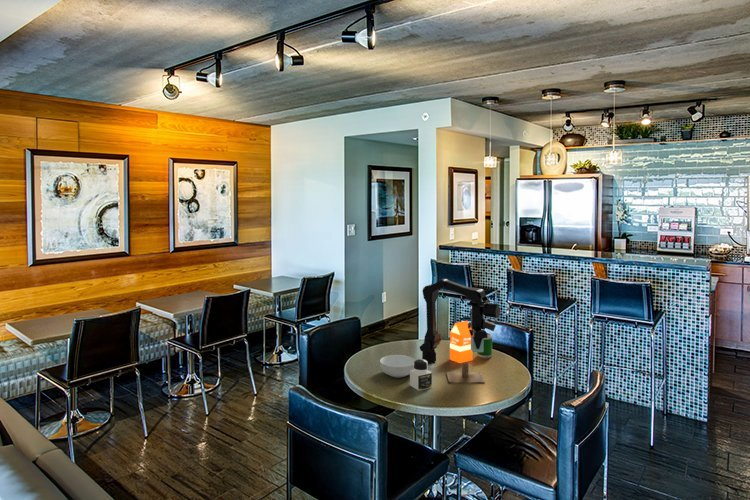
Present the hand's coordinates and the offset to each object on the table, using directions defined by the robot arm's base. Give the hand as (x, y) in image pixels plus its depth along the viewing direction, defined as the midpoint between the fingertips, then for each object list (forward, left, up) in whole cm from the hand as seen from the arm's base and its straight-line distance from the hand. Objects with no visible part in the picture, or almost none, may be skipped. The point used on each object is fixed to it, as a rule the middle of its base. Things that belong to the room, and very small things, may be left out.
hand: (476, 347), depth 238 cm
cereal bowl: (-38, -5, -12) cm, 40 cm away
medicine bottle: (-28, -20, -12) cm, 36 cm away
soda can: (+8, +22, -12) cm, 27 cm away
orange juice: (-5, +17, -12) cm, 22 cm away
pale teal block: (0, 0, -2) cm, 2 cm away
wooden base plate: (-7, -10, -12) cm, 17 cm away
